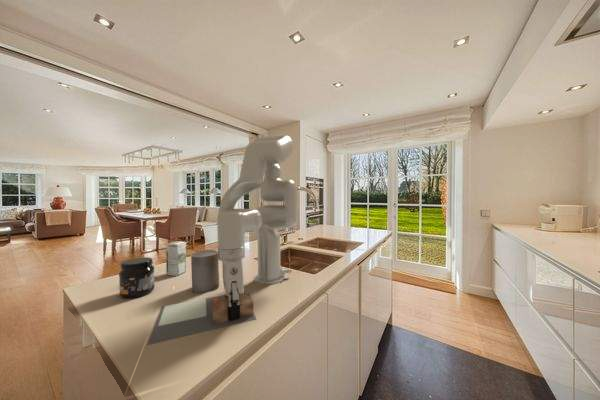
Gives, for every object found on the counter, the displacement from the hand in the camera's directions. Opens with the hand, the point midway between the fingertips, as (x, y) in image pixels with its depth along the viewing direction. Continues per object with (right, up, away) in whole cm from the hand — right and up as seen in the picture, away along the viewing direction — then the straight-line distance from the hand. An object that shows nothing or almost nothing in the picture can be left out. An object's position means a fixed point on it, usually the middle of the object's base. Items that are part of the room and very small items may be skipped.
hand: (232, 312), depth 65 cm
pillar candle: (-17, -1, +20) cm, 26 cm away
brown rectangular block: (0, -1, 0) cm, 1 cm away
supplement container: (-40, -1, +16) cm, 43 cm away
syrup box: (-37, -1, +36) cm, 52 cm away
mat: (-8, -1, +1) cm, 8 cm away
